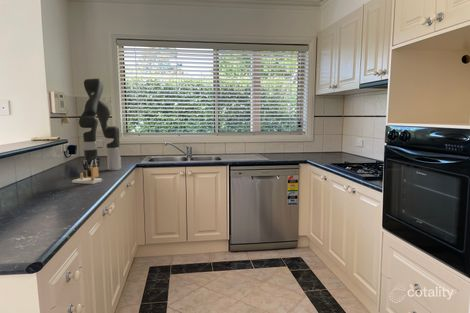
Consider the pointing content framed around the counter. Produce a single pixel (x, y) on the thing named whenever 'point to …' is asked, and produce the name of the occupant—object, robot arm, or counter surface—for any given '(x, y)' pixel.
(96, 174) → the light orange block
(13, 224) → the counter surface
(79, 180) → the base
